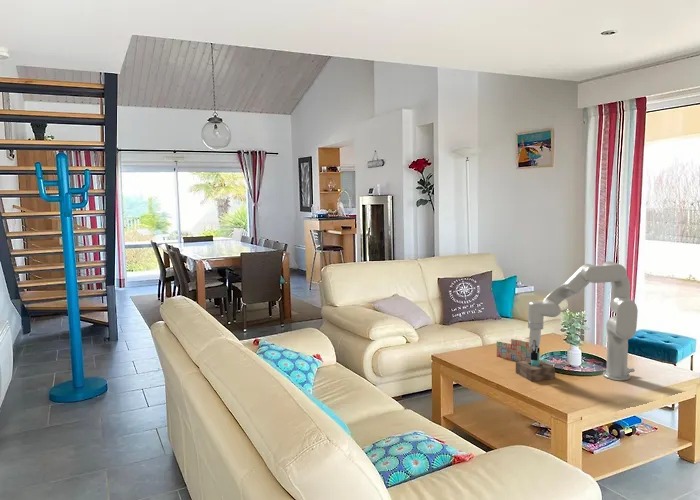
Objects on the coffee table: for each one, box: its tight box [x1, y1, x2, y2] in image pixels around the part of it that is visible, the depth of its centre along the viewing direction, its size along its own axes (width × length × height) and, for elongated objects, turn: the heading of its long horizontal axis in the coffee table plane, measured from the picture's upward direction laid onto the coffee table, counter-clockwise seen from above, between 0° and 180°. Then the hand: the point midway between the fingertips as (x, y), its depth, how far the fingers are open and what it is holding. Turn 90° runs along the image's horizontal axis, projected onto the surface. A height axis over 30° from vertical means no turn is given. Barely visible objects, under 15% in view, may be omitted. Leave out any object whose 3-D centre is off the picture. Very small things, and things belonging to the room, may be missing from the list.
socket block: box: [515, 359, 556, 382], centre depth 278 cm, size 14×14×6 cm
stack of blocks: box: [496, 336, 532, 362], centre depth 307 cm, size 21×6×12 cm, turn 47°
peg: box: [531, 352, 540, 367], centre depth 278 cm, size 4×4×12 cm
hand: (535, 357), depth 277 cm, fingers open, 9 cm apart
